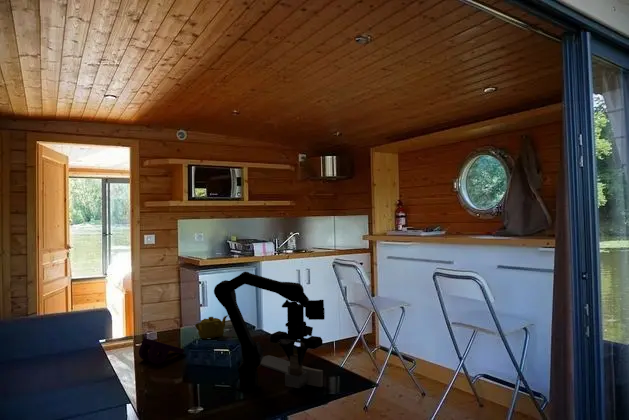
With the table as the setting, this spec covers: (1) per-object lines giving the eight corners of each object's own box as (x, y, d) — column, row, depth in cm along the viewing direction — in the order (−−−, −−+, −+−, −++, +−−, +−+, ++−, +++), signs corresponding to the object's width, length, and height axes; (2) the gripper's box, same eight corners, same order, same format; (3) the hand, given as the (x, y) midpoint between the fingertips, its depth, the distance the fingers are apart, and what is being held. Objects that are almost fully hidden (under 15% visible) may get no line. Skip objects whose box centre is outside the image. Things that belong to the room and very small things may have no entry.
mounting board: (320, 387, 159) (320, 371, 159) (287, 380, 166) (287, 365, 166) (323, 385, 160) (322, 370, 160) (290, 379, 167) (289, 364, 167)
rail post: (297, 380, 156) (297, 357, 156) (290, 379, 158) (289, 356, 158) (302, 377, 159) (302, 355, 159) (295, 376, 161) (294, 353, 161)
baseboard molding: (273, 357, 196) (251, 363, 187) (273, 350, 196) (251, 356, 187) (326, 373, 174) (304, 382, 166) (326, 366, 174) (303, 374, 166)
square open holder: (299, 388, 154) (298, 376, 154) (285, 385, 157) (284, 373, 157) (310, 381, 161) (310, 369, 161) (297, 378, 164) (297, 367, 164)
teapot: (204, 333, 235) (204, 313, 235) (228, 333, 233) (228, 313, 234) (194, 340, 222) (193, 319, 222) (219, 341, 220) (218, 320, 220)
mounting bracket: (169, 366, 202) (135, 357, 190) (176, 347, 205) (143, 337, 193) (182, 370, 196) (148, 362, 184) (189, 350, 199) (156, 341, 187)
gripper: (329, 317, 161) (330, 361, 161) (286, 312, 170) (286, 354, 170) (314, 324, 151) (314, 371, 151) (268, 318, 161) (269, 362, 160)
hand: (296, 364), depth 158 cm, fingers closed on rail post, 3 cm apart
